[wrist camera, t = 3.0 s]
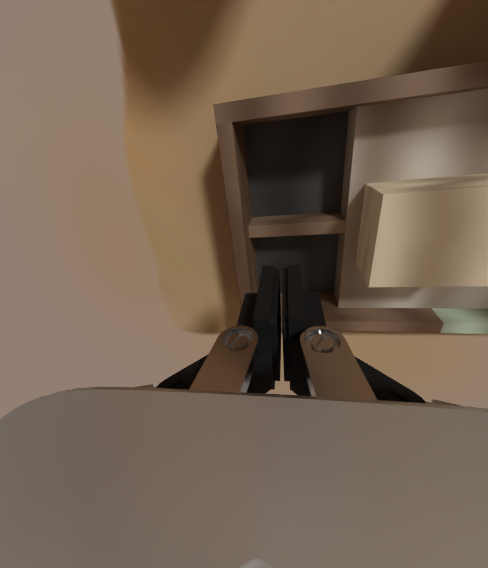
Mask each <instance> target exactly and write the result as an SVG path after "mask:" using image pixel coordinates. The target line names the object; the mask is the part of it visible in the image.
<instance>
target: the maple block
mask: <svg viewBox="0 0 488 568" xmlns="http://www.w3.org/2000/svg"><path fill="white" fill-rule="evenodd" d="M356 264H357V266H358V268H359V270H360V272H361V274H362V275H363V277H364V279H365V281H366V283H367V285H368V287H459V286H488V174H472V175H461V176H449V177H437V178H425V179H413V180H402V181H390V182H378V183H366V184H365V190H364V198H363V206H362V214H361V222H360V230H359V239H358V247H357V255H356Z"/></svg>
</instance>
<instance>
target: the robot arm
mask: <svg viewBox="0 0 488 568" xmlns="http://www.w3.org/2000/svg"><path fill="white" fill-rule="evenodd" d="M282 335H283V358H284V380H285V381H290V390H292V391H293V392H294V393H296V394H297V395H280V394H265V393H266V392H268V391H269V390H271V389H274V388H275V381H280V360H281V299H280V276H279V268H275V266H274V265H268V266H262V271H261V276H260V282H259V287H258V293H245V296H244V300H243V304H242V308H241V312H240V316H239V320H238V323H237V326H233V327H230V328H227V329H226V330H224V331H223V332H221V334H220V335H219V336H218V338H217V340H216V342H215V343H214V346H213V347H212V349H211V351H210V353H209V354H208V355H206V356H205V357H203V358H201V359H200V360H198V361H196V362H194V363H193V364H191V365H189V366H188V367H186V368H184V369H182V370H181V371H179V372H177V373H176V374H174V375H172V376H171V377H169V378H167V379H165V380H164V381H163V382H161V383H160V384H159V385H158V386H157V387H153V385H152V384H151V385H145V386H139V387H89V388H78V389H72V390H66V391H60V392H57V393H53V394H50V395H46V396H43V397H40V398H37V399H34V400H32V401H30V402H27V403H25V404H22V405H20V406H19V407H17V408H15V409H14V410H12V411H10V412H9V413H8V414H6V415H5V416H4V417H2V418H1V419H0V568H488V409H484V408H475V407H465V406H460V405H456V404H451V403H447V402H442V401H438V400H432V403H429V402H425V401H424V400H423V399H422V398H421V397H420V396H419V395H417V394H416V393H415V392H413V391H412V390H410V389H408V388H407V387H405V386H403V385H402V384H400V383H398V382H396V381H395V380H393V379H391V378H390V377H388V376H386V375H385V374H383V373H381V372H380V371H378V370H376V369H374V368H373V367H371V366H370V365H368V364H366V363H365V362H363V361H361V360H360V359H358V358H356V357H355V356H354V355H353V353H352V351H351V349H350V347H349V345H348V343H347V342H346V340H345V338H344V337H343V335H342V334H341V333H339V332H338V331H337V330H335V329H332V328H330V327H326V322H325V318H324V313H323V309H322V304H321V299H320V295H319V292H303V289H302V280H301V271H300V264H296V265H288V268H283V286H282Z"/></svg>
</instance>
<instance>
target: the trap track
mask: <svg viewBox="0 0 488 568" xmlns="http://www.w3.org/2000/svg"><path fill="white" fill-rule="evenodd" d="M213 106H214V113H215V121H216V128H217V135H218V143H219V150H220V157H221V164H222V172H223V179H224V186H225V194H226V201H227V208H228V215H229V223H230V230H231V237H232V244H233V252H234V259H235V266H236V274H237V281H238V288H239V295H240V303H241V308H242V304H243V300H244V296H245V293H258V287H259V282H260V276H261V271H262V266H268V265H274V266H275V268H279V276H280V299H281V329H282V286H283V268H288V265H296V264H300V271H301V280H302V289H303V292H319V295H320V299H321V304H322V309H323V313H324V318H325V322H326V327H330V328H332V329H335V330H337V331H377V332H421V333H465V334H488V286H459V287H368V285H367V283H366V281H365V279H364V277H363V275H362V274H361V272H360V270H359V268H358V266H357V264H356V255H357V247H358V239H359V230H360V222H361V214H362V206H363V198H364V190H365V184H366V183H378V182H390V181H402V180H413V179H425V178H437V177H449V176H461V175H472V174H488V61H483V62H476V63H470V64H464V65H458V66H451V67H445V68H439V69H433V70H426V71H420V72H414V73H407V74H401V75H395V76H389V77H382V78H376V79H370V80H364V81H357V82H351V83H345V84H339V85H332V86H326V87H320V88H313V89H307V90H301V91H295V92H288V93H282V94H276V95H270V96H263V97H257V98H251V99H245V100H238V101H232V102H226V103H220V104H213Z"/></svg>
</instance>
